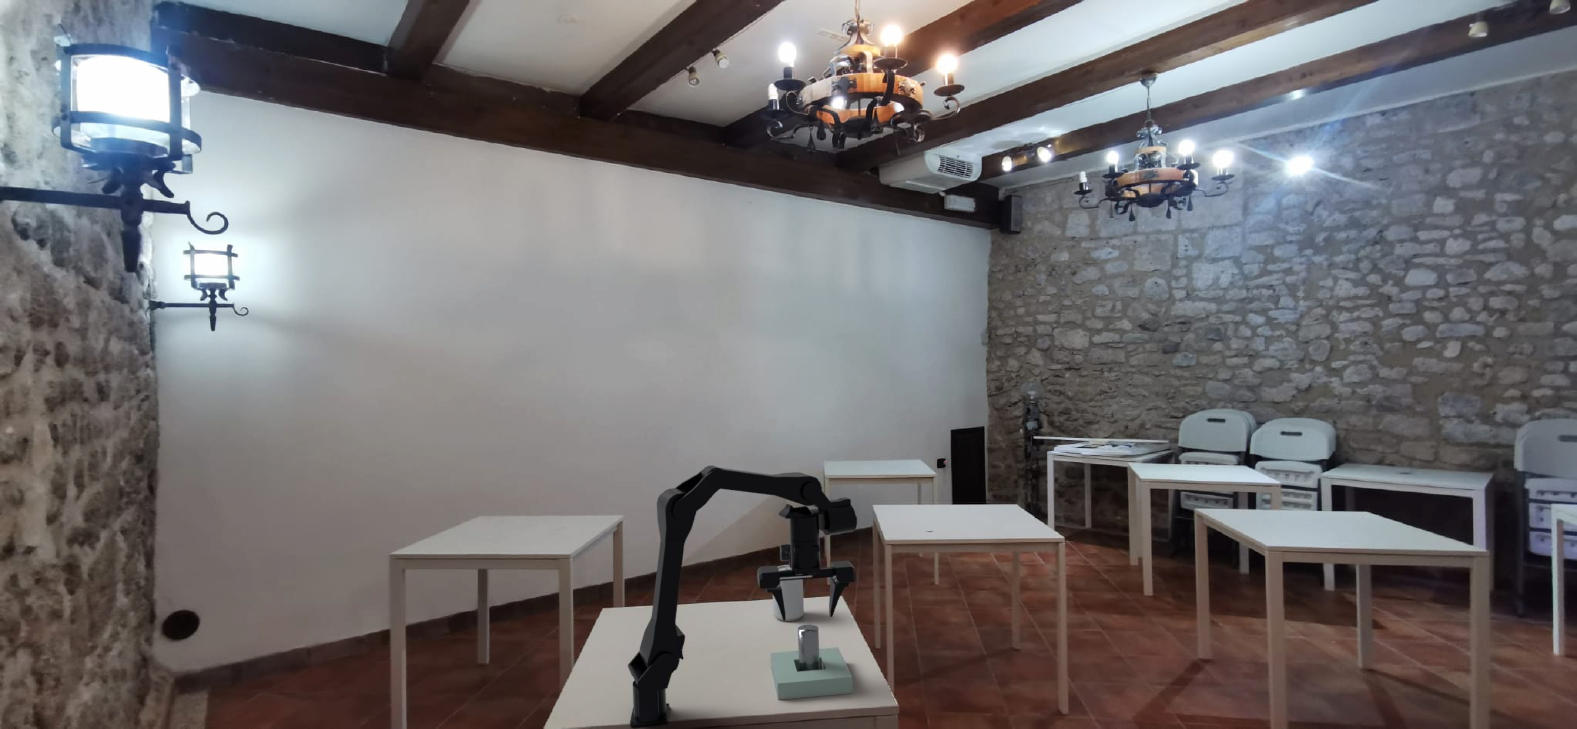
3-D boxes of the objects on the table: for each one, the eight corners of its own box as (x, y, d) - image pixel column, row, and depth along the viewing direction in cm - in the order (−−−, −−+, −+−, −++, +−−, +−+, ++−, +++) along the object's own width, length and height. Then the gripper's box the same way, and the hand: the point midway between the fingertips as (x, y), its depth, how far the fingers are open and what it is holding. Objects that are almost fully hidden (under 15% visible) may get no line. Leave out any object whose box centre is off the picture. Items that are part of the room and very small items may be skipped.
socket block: (852, 692, 132) (852, 676, 132) (778, 699, 131) (777, 683, 131) (838, 661, 146) (838, 647, 146) (770, 667, 145) (770, 652, 145)
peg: (821, 683, 137) (819, 631, 137) (801, 685, 136) (799, 633, 136) (818, 674, 141) (816, 623, 141) (798, 675, 140) (796, 625, 140)
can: (767, 619, 172) (766, 570, 172) (782, 609, 178) (780, 562, 178) (795, 624, 168) (793, 573, 168) (809, 613, 175) (807, 565, 175)
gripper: (843, 525, 148) (846, 600, 148) (754, 531, 145) (756, 607, 145) (855, 538, 136) (858, 620, 137) (758, 545, 134) (761, 627, 134)
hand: (807, 618), depth 138 cm, fingers open, 9 cm apart
